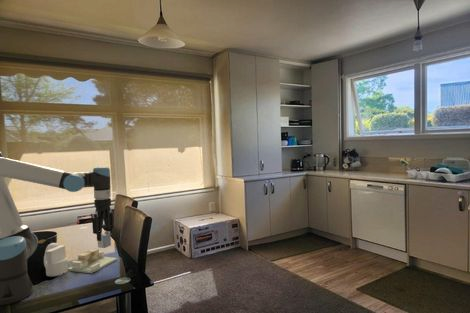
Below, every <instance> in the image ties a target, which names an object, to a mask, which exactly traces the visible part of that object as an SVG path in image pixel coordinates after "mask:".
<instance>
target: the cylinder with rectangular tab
mask: <svg viewBox="0 0 470 313" xmlns="http://www.w3.org/2000/svg"><path fill="white" fill-rule="evenodd" d="M45 251H46V250H45ZM67 272H68V258H67V256H66V246H65V245H63V244H62V245H61V244H60V245H59V246H57V247H55V248H52V249H50V250H47V251H46V268H45V274H46V276H47V277H57V276H61V275H64V274H66V273H67ZM63 273H64V274H63Z"/></svg>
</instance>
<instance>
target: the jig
mask: <svg viewBox="0 0 470 313" xmlns="http://www.w3.org/2000/svg"><path fill="white" fill-rule="evenodd" d="M117 261H118V257H109V256H105V251H100V250H99V259H97V260H95V261H93V262H91V263H89V264H88V262H85V263H82V262H80V261H77V260H73V261H71V266H70V267H67V272H77V273H85V274H93V272H94V273H95V272H97V271H99V270H101V269H103V268H105V267H107V266H108V265H110V264H113V263H114V262H117Z"/></svg>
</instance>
